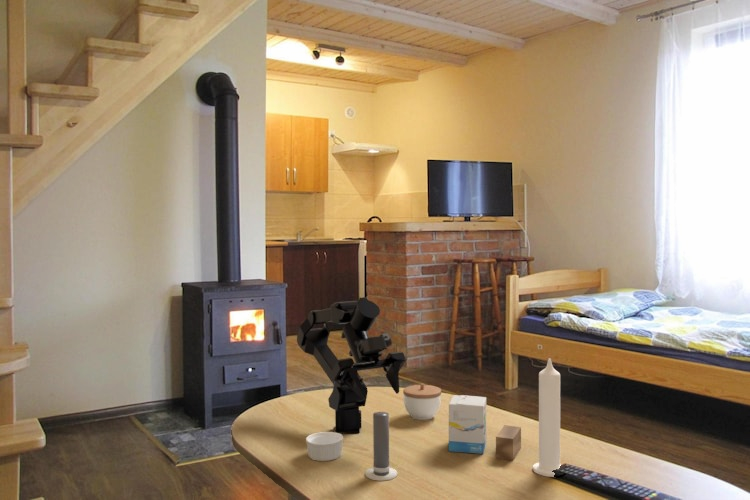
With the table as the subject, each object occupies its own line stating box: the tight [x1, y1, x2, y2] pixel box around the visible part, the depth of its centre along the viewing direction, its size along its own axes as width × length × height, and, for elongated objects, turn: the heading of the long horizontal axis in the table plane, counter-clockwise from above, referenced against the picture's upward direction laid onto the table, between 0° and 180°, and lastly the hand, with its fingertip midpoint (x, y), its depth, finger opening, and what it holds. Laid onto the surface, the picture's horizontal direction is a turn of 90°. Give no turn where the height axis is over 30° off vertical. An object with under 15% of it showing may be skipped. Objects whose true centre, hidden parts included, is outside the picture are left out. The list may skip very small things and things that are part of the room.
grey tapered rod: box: [372, 411, 390, 476], centre depth 137 cm, size 4×4×13 cm
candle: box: [532, 357, 562, 478], centre depth 138 cm, size 7×7×25 cm
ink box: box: [448, 394, 487, 455], centre depth 154 cm, size 8×8×12 cm
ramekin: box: [305, 431, 344, 462], centre depth 149 cm, size 9×9×4 cm
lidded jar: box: [402, 383, 442, 421], centre depth 178 cm, size 11×11×9 cm
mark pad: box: [364, 466, 398, 482], centre depth 138 cm, size 7×7×1 cm
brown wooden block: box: [495, 425, 522, 461], centre depth 149 cm, size 4×9×5 cm, turn 156°
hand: (381, 395), depth 151 cm, fingers open, 9 cm apart
